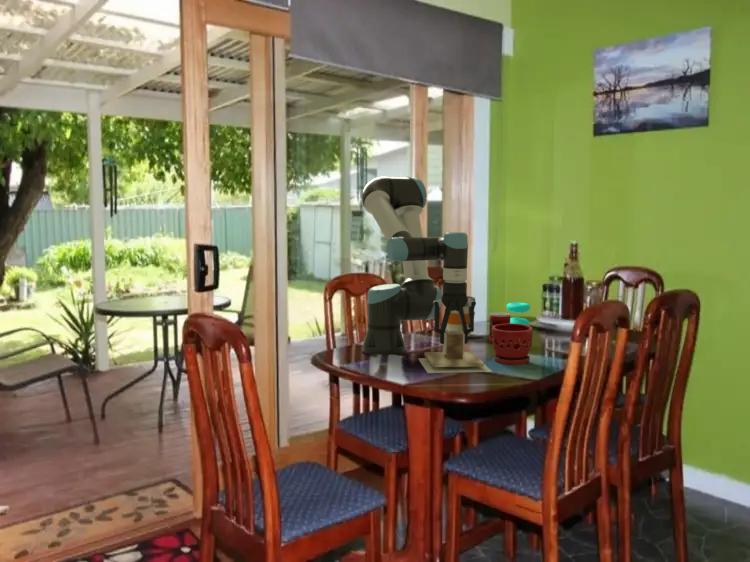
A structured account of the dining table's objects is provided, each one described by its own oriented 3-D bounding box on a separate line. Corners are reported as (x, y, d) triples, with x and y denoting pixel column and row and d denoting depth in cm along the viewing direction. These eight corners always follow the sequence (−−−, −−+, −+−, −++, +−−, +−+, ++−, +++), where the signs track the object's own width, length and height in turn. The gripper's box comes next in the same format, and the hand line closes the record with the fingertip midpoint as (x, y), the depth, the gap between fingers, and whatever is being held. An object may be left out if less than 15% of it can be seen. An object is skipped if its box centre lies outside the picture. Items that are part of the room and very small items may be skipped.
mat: (427, 374, 206) (427, 372, 206) (417, 359, 226) (417, 358, 226) (492, 373, 208) (492, 371, 207) (477, 358, 227) (477, 357, 227)
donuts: (504, 304, 286) (508, 301, 295) (503, 327, 287) (508, 324, 296) (528, 305, 282) (532, 302, 291) (527, 329, 283) (531, 325, 292)
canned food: (508, 340, 259) (509, 312, 258) (510, 344, 251) (511, 315, 250) (488, 340, 260) (489, 311, 259) (489, 344, 252) (490, 315, 251)
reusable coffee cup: (437, 335, 268) (438, 298, 267) (451, 331, 279) (452, 294, 277) (467, 339, 262) (467, 300, 260) (480, 334, 272) (480, 297, 271)
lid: (432, 367, 208) (433, 338, 207) (424, 355, 224) (424, 328, 223) (483, 366, 209) (484, 337, 208) (472, 354, 225) (472, 327, 224)
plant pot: (486, 358, 228) (487, 323, 227) (524, 357, 229) (525, 322, 228) (497, 367, 215) (497, 330, 214) (537, 366, 216) (538, 329, 215)
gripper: (428, 282, 209) (427, 356, 212) (485, 282, 211) (484, 356, 214) (424, 280, 217) (423, 351, 219) (480, 279, 218) (478, 350, 221)
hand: (453, 353), depth 216 cm, fingers closed on lid, 5 cm apart
